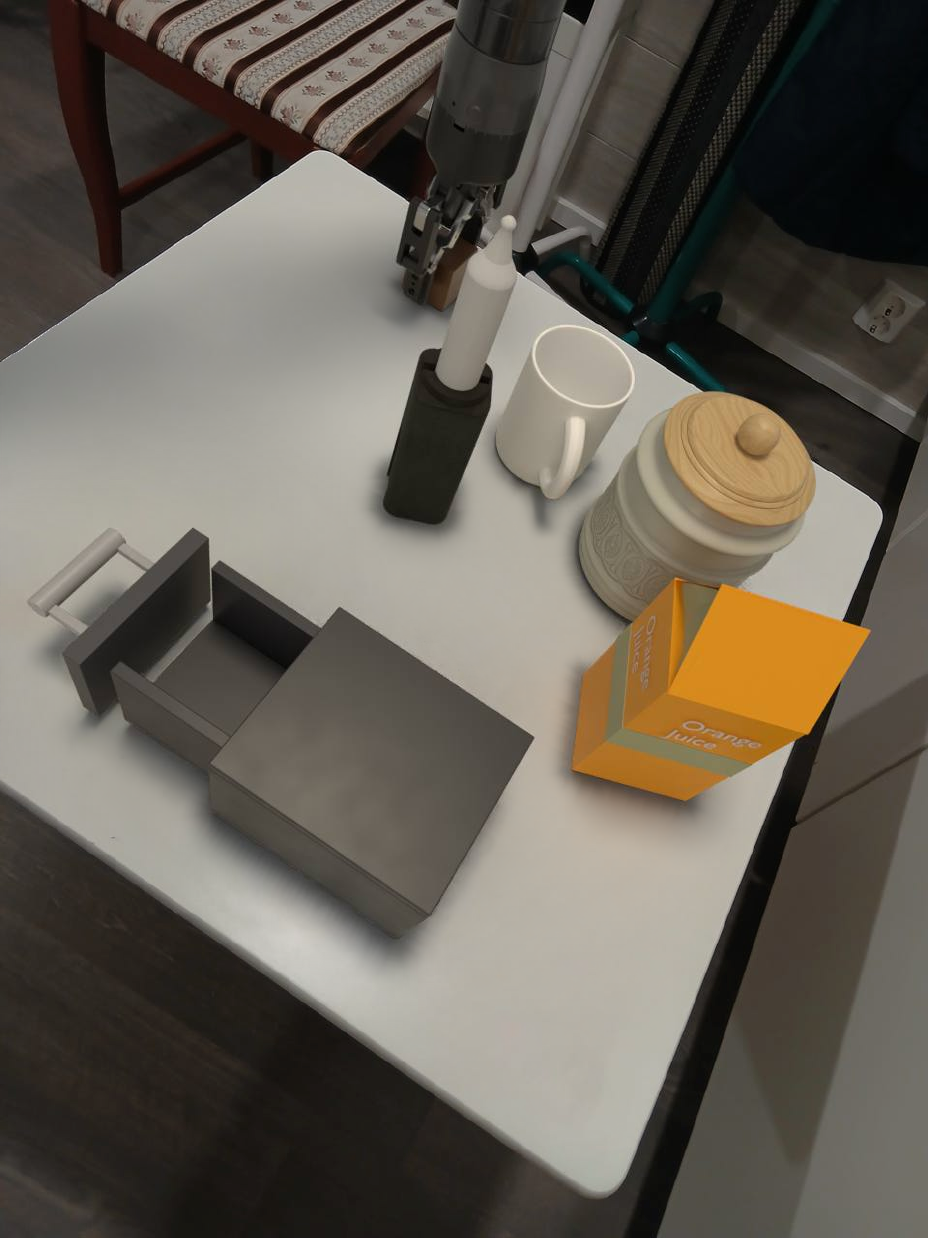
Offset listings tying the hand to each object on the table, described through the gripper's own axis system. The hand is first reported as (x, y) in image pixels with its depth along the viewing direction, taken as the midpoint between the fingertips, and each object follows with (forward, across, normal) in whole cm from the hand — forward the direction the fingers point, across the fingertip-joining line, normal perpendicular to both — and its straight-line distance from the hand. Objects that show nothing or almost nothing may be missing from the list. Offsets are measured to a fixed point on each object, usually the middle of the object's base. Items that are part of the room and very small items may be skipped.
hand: (438, 275), depth 75 cm
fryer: (+1, +44, +21) cm, 49 cm away
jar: (+2, +14, +30) cm, 33 cm away
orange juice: (+2, +29, +35) cm, 46 cm away
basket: (0, +44, +8) cm, 45 cm away
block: (+1, 0, 0) cm, 1 cm away
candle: (+1, +21, +11) cm, 24 cm away
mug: (+2, +12, +18) cm, 22 cm away
